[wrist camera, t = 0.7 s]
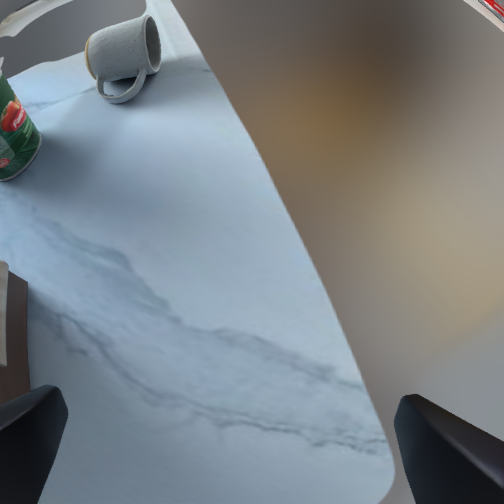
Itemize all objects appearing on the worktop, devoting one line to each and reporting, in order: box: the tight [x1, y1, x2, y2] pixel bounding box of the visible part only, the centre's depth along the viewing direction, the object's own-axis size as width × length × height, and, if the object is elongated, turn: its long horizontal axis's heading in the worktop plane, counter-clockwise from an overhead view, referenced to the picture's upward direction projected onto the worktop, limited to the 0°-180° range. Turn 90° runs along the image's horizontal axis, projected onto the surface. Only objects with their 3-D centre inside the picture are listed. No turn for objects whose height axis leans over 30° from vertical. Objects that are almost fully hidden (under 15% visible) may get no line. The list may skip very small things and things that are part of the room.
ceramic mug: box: [85, 15, 161, 104], centre depth 30 cm, size 11×8×8 cm
